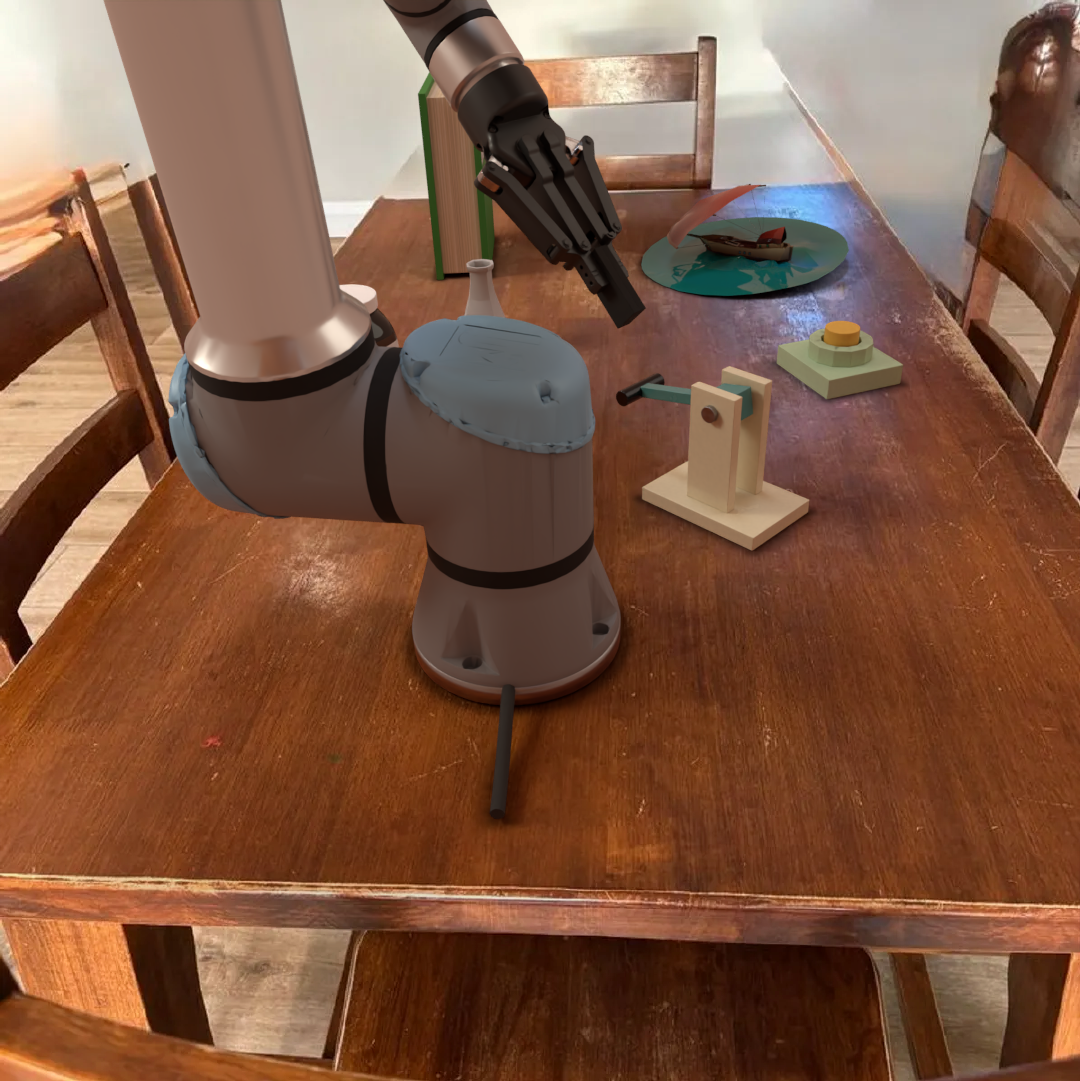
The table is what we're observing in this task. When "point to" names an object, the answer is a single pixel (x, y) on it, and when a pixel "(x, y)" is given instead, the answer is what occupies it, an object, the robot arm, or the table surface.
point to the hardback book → (453, 186)
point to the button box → (839, 365)
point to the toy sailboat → (741, 251)
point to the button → (842, 334)
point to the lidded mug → (374, 314)
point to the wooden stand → (728, 467)
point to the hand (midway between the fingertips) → (631, 318)
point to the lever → (677, 393)
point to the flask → (482, 290)
